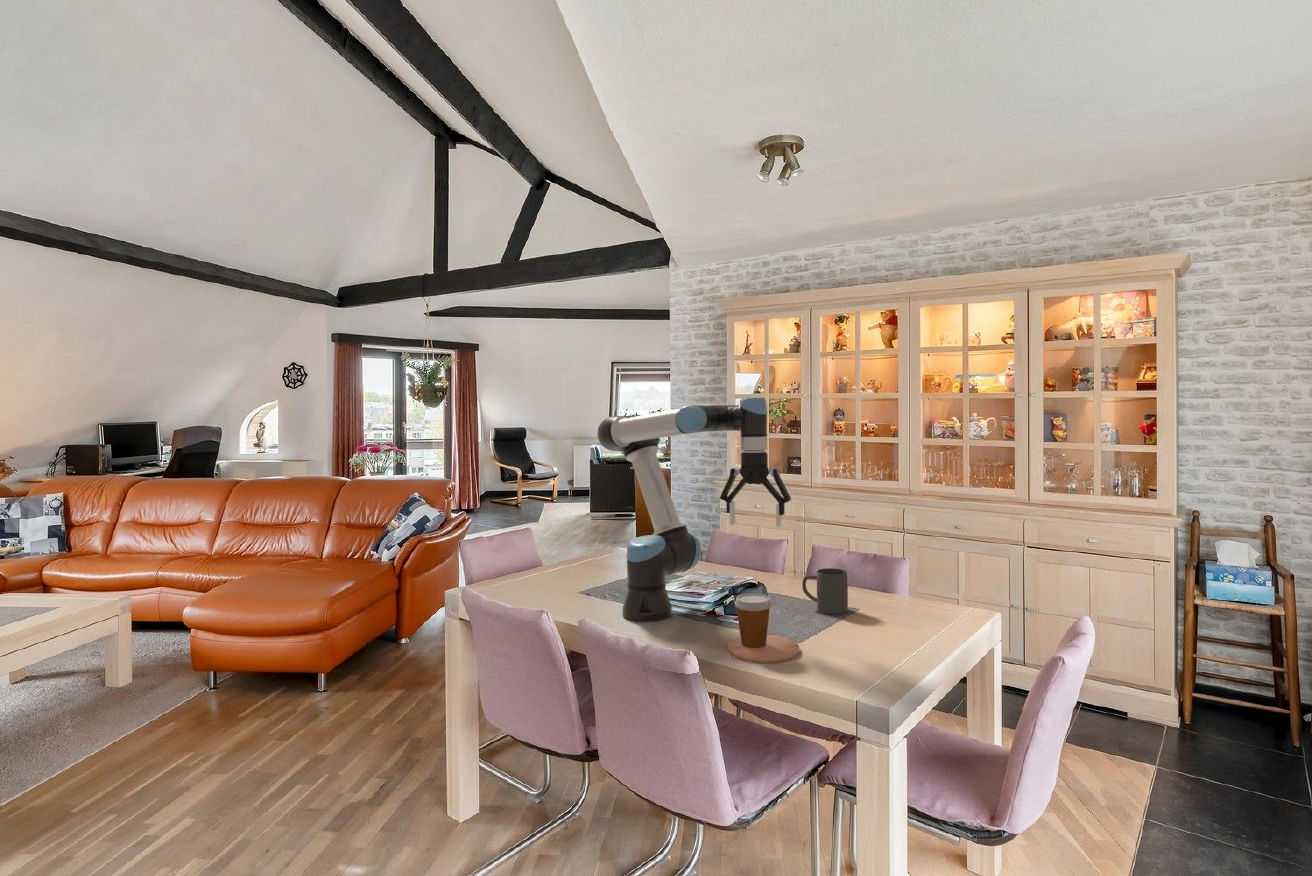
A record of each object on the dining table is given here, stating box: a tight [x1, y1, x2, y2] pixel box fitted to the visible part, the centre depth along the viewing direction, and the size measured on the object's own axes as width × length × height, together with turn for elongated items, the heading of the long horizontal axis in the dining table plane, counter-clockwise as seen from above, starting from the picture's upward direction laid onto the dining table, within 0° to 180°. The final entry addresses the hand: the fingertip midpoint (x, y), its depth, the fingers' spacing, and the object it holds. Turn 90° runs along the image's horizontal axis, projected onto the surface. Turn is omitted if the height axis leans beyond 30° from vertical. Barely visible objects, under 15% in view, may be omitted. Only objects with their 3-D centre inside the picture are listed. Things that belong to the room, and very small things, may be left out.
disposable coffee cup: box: [734, 593, 773, 648], centre depth 176 cm, size 10×10×12 cm
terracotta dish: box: [727, 634, 800, 664], centre depth 174 cm, size 18×18×1 cm
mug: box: [801, 567, 849, 615], centre depth 209 cm, size 14×9×12 cm
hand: (755, 525), depth 195 cm, fingers open, 13 cm apart
